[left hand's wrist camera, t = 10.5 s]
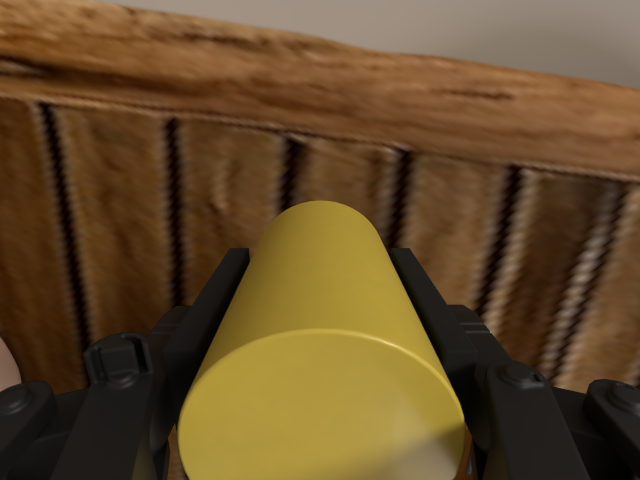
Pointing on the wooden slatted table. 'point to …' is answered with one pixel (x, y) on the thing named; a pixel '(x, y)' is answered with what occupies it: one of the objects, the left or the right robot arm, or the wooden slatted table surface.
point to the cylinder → (321, 366)
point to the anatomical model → (7, 368)
